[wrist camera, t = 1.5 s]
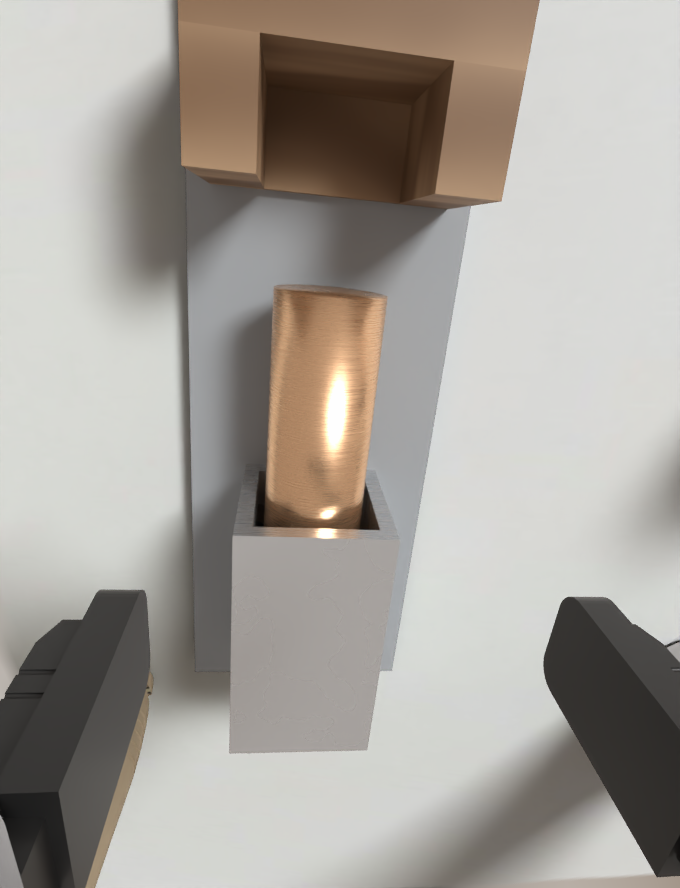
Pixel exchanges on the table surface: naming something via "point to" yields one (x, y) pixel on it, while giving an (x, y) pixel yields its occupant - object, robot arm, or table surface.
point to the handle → (121, 787)
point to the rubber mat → (249, 356)
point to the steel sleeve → (307, 625)
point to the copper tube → (321, 404)
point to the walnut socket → (354, 96)
